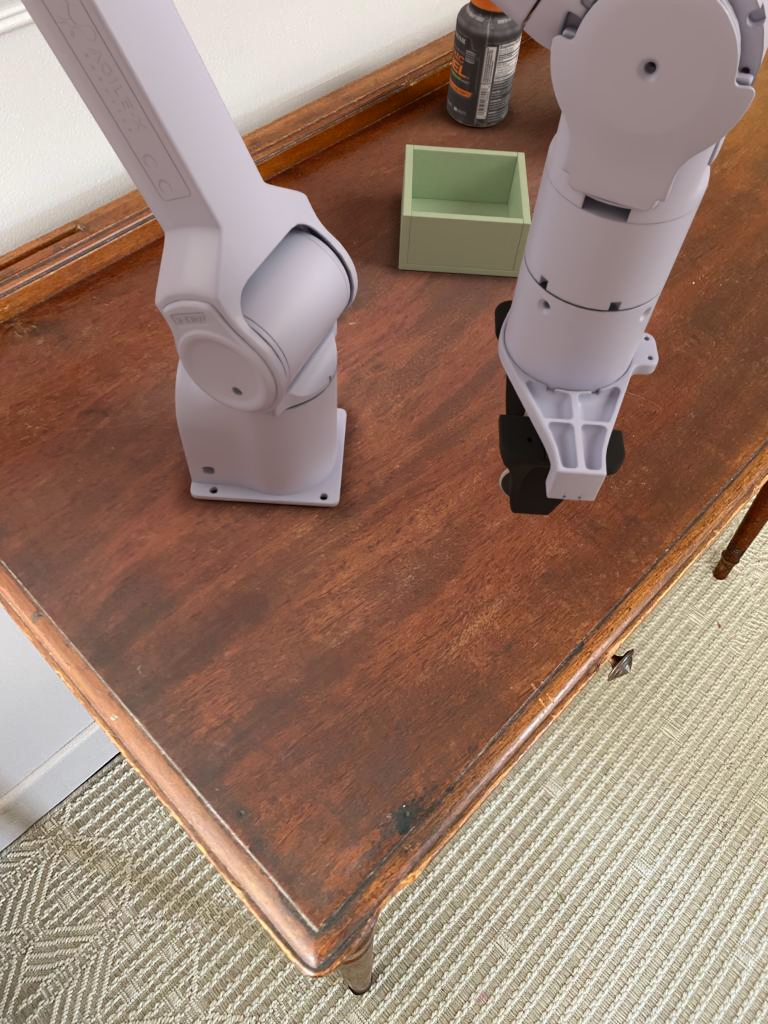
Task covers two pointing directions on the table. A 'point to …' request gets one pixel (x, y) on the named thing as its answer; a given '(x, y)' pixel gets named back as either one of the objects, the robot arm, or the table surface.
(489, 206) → the bin
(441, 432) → the table surface
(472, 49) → the pill bottle
